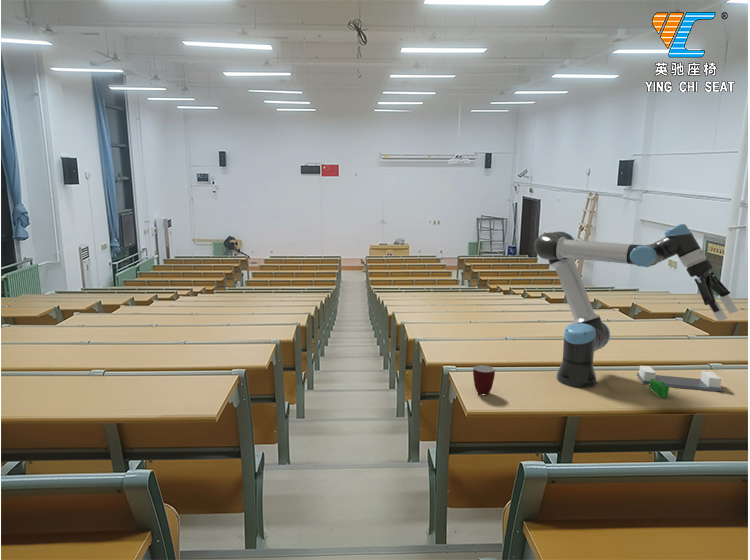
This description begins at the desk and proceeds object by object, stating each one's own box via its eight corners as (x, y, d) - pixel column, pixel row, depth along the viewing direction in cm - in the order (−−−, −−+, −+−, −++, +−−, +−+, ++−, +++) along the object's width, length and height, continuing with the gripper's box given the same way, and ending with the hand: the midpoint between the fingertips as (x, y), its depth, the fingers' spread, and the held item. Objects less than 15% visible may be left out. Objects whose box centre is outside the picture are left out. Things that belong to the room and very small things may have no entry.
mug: (466, 387, 188) (467, 363, 186) (485, 386, 189) (486, 362, 188) (477, 398, 178) (478, 373, 176) (497, 396, 179) (498, 371, 178)
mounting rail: (643, 384, 193) (644, 372, 192) (636, 375, 202) (637, 364, 201) (722, 391, 185) (723, 379, 184) (711, 382, 194) (713, 371, 194)
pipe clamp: (671, 399, 178) (672, 389, 177) (661, 399, 178) (662, 388, 177) (658, 389, 188) (659, 378, 187) (649, 388, 188) (650, 378, 188)
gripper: (695, 263, 162) (730, 319, 157) (717, 254, 178) (749, 305, 172) (673, 272, 167) (706, 327, 162) (696, 263, 183) (727, 313, 178)
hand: (728, 316), depth 167 cm, fingers open, 13 cm apart
